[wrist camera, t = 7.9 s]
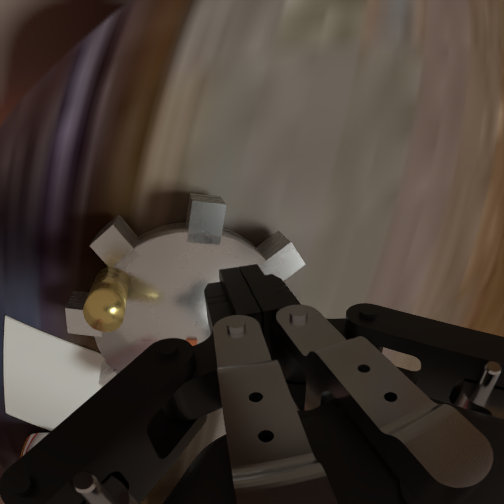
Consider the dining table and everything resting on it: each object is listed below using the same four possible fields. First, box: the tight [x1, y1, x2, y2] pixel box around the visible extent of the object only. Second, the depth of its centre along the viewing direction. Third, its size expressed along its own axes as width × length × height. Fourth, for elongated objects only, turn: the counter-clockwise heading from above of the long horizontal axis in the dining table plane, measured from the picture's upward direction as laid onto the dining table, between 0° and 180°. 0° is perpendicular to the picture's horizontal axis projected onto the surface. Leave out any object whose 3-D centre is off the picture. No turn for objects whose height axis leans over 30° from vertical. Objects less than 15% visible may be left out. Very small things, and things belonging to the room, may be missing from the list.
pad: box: [4, 315, 105, 431], centre depth 19 cm, size 11×11×1 cm
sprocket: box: [65, 193, 305, 386], centre depth 17 cm, size 14×14×5 cm
